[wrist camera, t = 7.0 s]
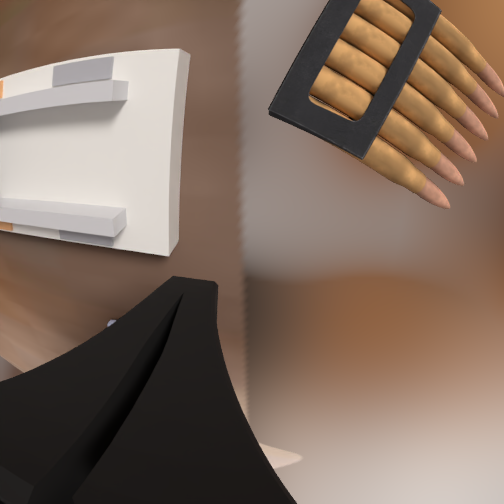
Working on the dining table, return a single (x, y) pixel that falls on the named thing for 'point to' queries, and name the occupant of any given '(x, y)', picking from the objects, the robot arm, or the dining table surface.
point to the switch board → (95, 150)
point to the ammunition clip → (388, 88)
